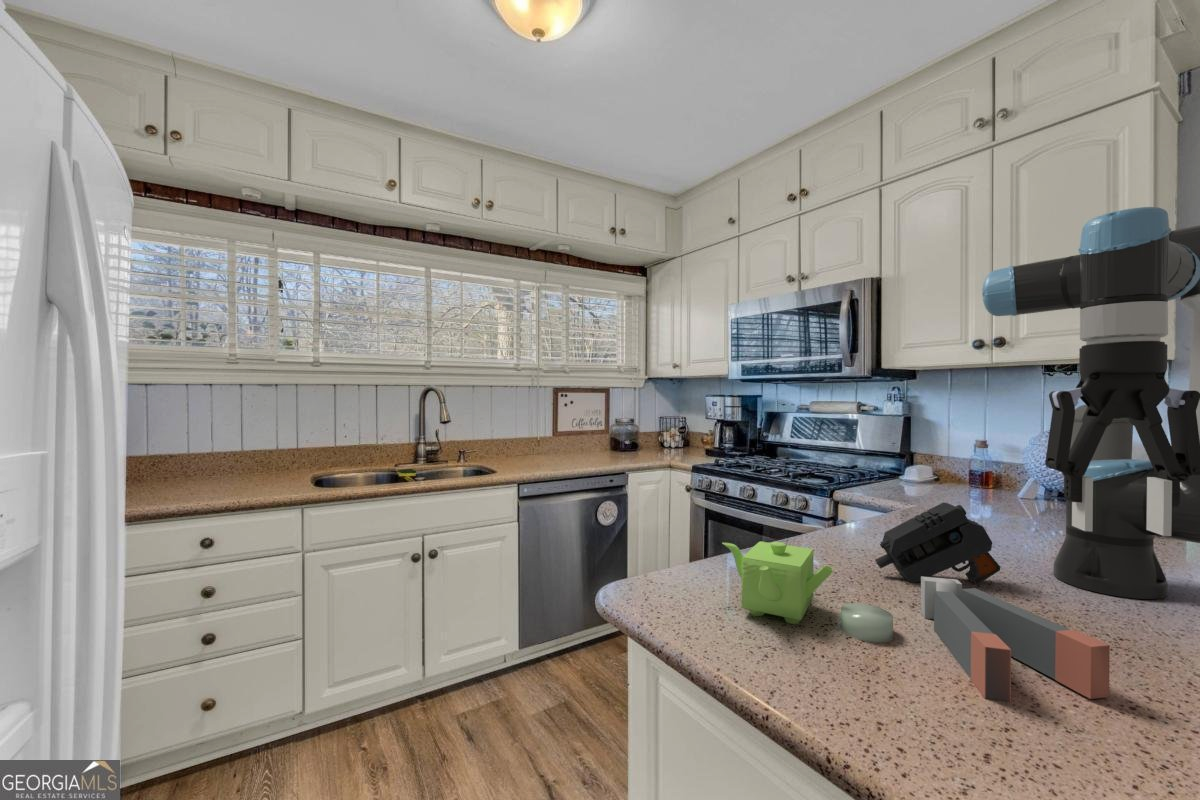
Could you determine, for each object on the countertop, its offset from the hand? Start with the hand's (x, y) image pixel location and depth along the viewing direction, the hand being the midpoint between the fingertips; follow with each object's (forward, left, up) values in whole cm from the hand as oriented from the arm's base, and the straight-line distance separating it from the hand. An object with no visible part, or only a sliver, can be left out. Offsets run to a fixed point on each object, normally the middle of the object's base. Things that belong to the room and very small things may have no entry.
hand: (1119, 530), depth 63 cm
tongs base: (+14, -5, -19) cm, 24 cm away
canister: (-43, -85, -19) cm, 97 cm away
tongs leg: (+8, -4, -19) cm, 21 cm away
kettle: (+39, -11, -19) cm, 45 cm away
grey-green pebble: (+26, -7, -19) cm, 34 cm away
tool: (+9, -34, -19) cm, 41 cm away
